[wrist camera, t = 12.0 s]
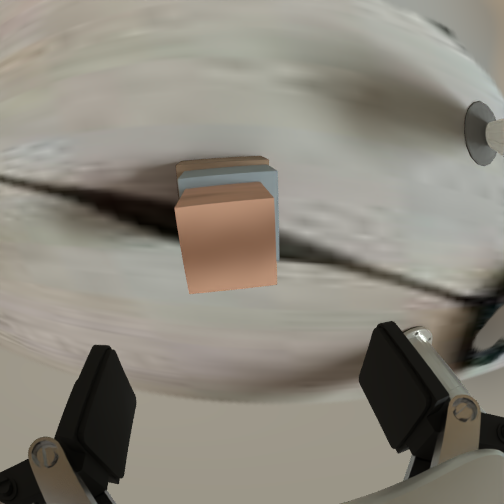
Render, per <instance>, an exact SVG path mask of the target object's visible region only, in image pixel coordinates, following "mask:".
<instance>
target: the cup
mask: <svg viewBox="0 0 504 504" xmlns="http://www.w3.org/2000/svg"><path fill="white" fill-rule="evenodd" d="M465 138H466V144H467V147H468V150H469V152H470V155H471V157H472V158H473V159H474V160H475V161H476V163H477V164H479V165H483V166H486V165H488V164H490V163H491V162H492V161H493V159H494V158H495V156H496V153H497V152H498V153H499V154H500V155H502V156H503V157H504V119H500V120H496V119H495V116H494V114H493V112H492V111H491V110H490V108H489V107H488V106H487V105H486V104H484V103H482V102H481V101H480V102H474V103H473V104H472V105H471V106H470V108H469V109H468V111H467V115H466V118H465Z"/></svg>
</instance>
